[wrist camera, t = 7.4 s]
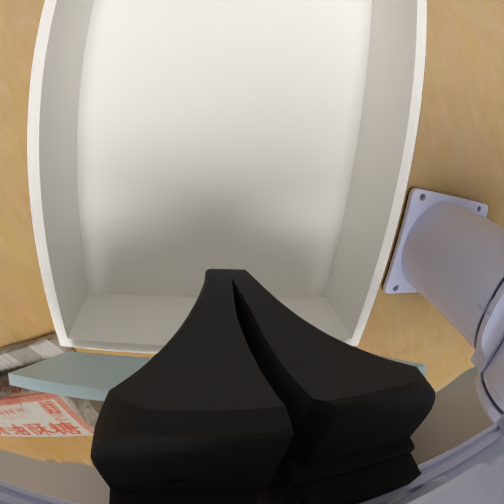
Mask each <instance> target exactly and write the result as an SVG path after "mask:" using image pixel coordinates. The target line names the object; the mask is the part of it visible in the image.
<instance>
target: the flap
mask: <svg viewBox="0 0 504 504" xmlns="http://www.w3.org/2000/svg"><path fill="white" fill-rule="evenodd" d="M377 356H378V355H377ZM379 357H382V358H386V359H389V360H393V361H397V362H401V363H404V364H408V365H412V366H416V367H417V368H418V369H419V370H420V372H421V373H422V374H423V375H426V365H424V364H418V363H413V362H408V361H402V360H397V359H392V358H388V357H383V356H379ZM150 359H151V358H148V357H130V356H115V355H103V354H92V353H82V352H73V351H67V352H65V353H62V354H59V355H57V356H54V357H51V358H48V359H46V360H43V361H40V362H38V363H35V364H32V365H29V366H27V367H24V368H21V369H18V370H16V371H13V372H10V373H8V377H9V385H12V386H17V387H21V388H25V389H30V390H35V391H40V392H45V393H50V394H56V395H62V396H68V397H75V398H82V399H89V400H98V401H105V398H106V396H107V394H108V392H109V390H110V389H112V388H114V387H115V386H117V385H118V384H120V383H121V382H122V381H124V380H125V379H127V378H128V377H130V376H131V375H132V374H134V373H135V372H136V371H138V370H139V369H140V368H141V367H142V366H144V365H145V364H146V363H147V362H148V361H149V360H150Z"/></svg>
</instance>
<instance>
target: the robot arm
mask: <svg viewBox="0 0 504 504" xmlns="http://www.w3.org/2000/svg"><path fill="white" fill-rule="evenodd" d="M421 194H422V197H421V198H420V196H421ZM487 213H488V205H486V204H484V203H480V202H476V201H472V200H468V199H464V198H460V197H456V196H452V195H447V194H443V193H438V192H434V191H429V190H424V189H420V188H413V189H412V190H411V191H410V193H409V197H408V201H407V206H406V210H405V214H404V218H403V221H402V225H401V229H400V233H399V236H398V240H397V243H396V247H395V250H394V254H393V257H392V260H391V264H390V267H389V270H388V273H387V276H386V279H385V282H384V285H383V290H384V291H385V292H386V293H387V294H395V293H413V292H419V293H420V294H421V295H422V296H423V297H424V298H425V299H426V300H427V301H428V302H429V303H430V304H431V305H432V306H433V307H435V308H436V309H437V310H438V311H439V312H440V313H441V314H442V315H443V316H444V317H445V318H446V319H447V320H448V321H449V322H450V324H451V325H452V326H453V327H454V328H455V329H456V330H457V331H458V332H459V333H460V334H461V335H462V336H463V337H464V338H465V339H466V340H467V341H468V342H469V343H470V344H471V345H472V346H473V348H474V349H475V352H474V354H473V356H472V358H471V361H472V363H473V364H474V365H475V366H476V367H477V368H478V369H479V372H478V374H477V377H476V389H477V394H478V397H479V399H480V402H481V404H482V407H483V409H484V410H485V412H486V414H487V415H488V416H489V417H490V418H491V420H492V421H493V422H494V423H495V424H494V425H492V426H490V427H489V428H487V429H486V430H484V431H483V432H481V433H479V434H478V435H476V436H474V437H473V438H471V439H469V440H467V441H466V442H464V443H462V444H460V445H458V446H457V447H455V448H453V449H451V450H449V451H447V452H445V453H443V454H441V455H440V456H437V457H435V458H433V459H431V460H429V461H427V462H425V463H422V464H420V465H418V466H417V464H416V462H415V461H414V459H413V457H412V455H411V453H410V452H411V451H413V450H414V444H413V442H412V440H411V439H410V436H411V435H412V434H413V433H414V431H415V430H416V429H417V428H418V426H419V425H420V424H421V423H422V422H423V420H424V419H425V418H426V416H427V415H428V413H429V412H430V410H431V409H432V406H433V404H434V401H435V391H434V390H433V388H432V387H431V385H430V384H429V383H428V381H427V380H426V378H425V377H424V376H423V374H422V373H421V372H420V370H419V369H418V368H417V367H416V366H412V365H408V364H404V363H401V362H397V361H393V360H389V359H386V358H382V357H379V356H377V355H374V354H371V353H368V352H366V351H363V350H360V349H358V348H356V347H353V346H351V345H349V344H347V343H345V342H342V341H340V340H338V339H336V338H334V337H332V336H330V335H328V334H327V333H325V332H323V331H321V330H320V329H318V328H316V327H315V326H313V325H312V324H310V323H308V322H307V321H305V320H304V319H302V318H301V317H299V316H298V315H297V314H295V313H294V312H293V311H291V310H290V309H289V308H287V307H286V306H285V305H284V304H282V303H281V302H280V301H279V300H278V299H276V298H275V297H274V296H273V295H272V294H271V293H270V292H269V291H267V290H266V289H265V288H264V287H263V286H262V285H261V284H260V283H259V282H258V281H257V280H256V279H255V278H254V277H253V276H252V275H251V274H250V273H249V272H248V271H246V270H242V269H208V270H207V271H205V281H204V284H203V287H202V289H201V292H200V294H199V296H198V298H197V301H196V302H195V304H194V306H193V308H192V309H191V311H190V313H189V315H188V316H187V318H186V319H185V321H184V322H183V324H182V325H181V327H180V328H179V329H178V331H177V332H176V333H175V334H174V336H173V337H172V338H171V339H170V340H169V341H168V342H167V344H166V345H165V346H164V347H163V348H162V349H161V350H160V351H159V352H158V353H157V354H156V355H155V356H154V357H153V358H151V359H150V360H149V361H148V362H147V363H146V364H145V365H144V366H142V367H141V368H140V369H139V370H138V371H136V372H135V373H134V374H132V375H131V376H130V377H128V378H127V379H125V380H124V381H122V382H121V383H120V384H118V385H117V386H115V387H114V388H112V389H110V390H109V392H108V394H107V396H106V398H105V401H104V403H103V405H102V408H101V410H100V413H99V416H98V419H97V422H96V425H95V429H94V435H93V441H92V449H91V459H92V462H93V464H94V466H95V467H96V469H97V470H98V472H99V473H100V475H101V476H102V478H103V479H104V480H105V481H106V483H107V484H108V485H109V487H110V501H109V504H390V503H393V502H394V503H393V504H504V227H503V226H501V225H499V224H497V223H496V222H494V221H492V220H490V219H488V218H486V217H487ZM394 286H395V287H394ZM397 500H398V501H397ZM395 501H396V502H395ZM0 504H81V503H75V502H71V501H67V500H63V499H59V498H55V497H51V496H47V495H44V494H41V493H37V492H34V491H31V490H28V489H25V488H21V487H19V486H16V485H13V484H10V483H8V482H5V481H2V480H0Z"/></svg>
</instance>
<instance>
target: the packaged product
mask: <svg viewBox="0 0 504 504" xmlns="http://www.w3.org/2000/svg"><path fill="white" fill-rule="evenodd" d="M67 351H73V352H75V350H74V349H73V348H72V347H66V346H60V343H59V340H58V336H57V333H53V334H49V335H46V336H43V337H40V338H37V339H34V340H29V341H24V342H20V343H15V344H11V345H8V346H4V347H0V435H2V436H13V437H14V436H19V437H64V436H80V435H83V436H85V435H90V436H91V435H94V429H95V425H96V422H97V419H98V416H99V413H100V410H101V408H102V405H103V403H104V401H98V400H89V399H82V398H75V397H68V396H62V395H56V394H50V393H45V392H40V391H35V390H30V389H25V388H21V387H17V386H12V385H9V377H8V373H10V372H13V371H16V370H18V369H21V368H24V367H27V366H29V365H32V364H35V363H38V362H40V361H43V360H46V359H48V358H51V357H54V356H57V355H59V354H62V353H65V352H67Z"/></svg>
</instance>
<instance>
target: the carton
mask: <svg viewBox="0 0 504 504" xmlns="http://www.w3.org/2000/svg"><path fill="white" fill-rule="evenodd" d="M425 50H426V0H45V3H44V7H43V11H42V15H41V20H40V24H39V29H38V34H37V39H36V45H35V51H34V57H33V64H32V72H31V81H30V92H29V105H28V130H27V154H28V179H29V193H30V204H31V214H32V222H33V229H34V236H35V243H36V249H37V255H38V260H39V265H40V270H41V275H42V280H43V284H44V289H45V293H46V297H47V301H48V305H49V309H50V312H51V316H52V320H53V323H54V327H55V330H56V333H57V336H58V340H59V343H60V346H66V347H75V348H85V349H95V350H107V351H120V352H136V353H158V352H159V351H160V350H161V349H162V348H163V347H164V346H165V345H166V344H167V342H168V341H169V340H170V339H171V338H172V337H173V336H174V334H175V333H176V332H177V331H178V329H179V328H180V327H181V325H182V324H183V322H184V321H185V319H186V318H187V316H188V315H189V313H190V311H191V309H192V308H193V306H194V304H195V302H196V301H197V298H198V296H199V294H200V292H201V289H202V287H203V284H204V281H205V271H207V270H208V269H242V270H246V271H248V272H249V273H250V274H251V275H252V276H253V277H254V278H255V279H256V280H257V281H258V282H259V283H260V284H261V285H262V286H263V287H264V288H265V289H266V290H267V291H269V292H270V293H271V294H272V295H273V296H274V297H275V298H276V299H278V300H279V301H280V302H281V303H282V304H284V305H285V306H286V307H287V308H289V309H290V310H291V311H293V312H294V313H295V314H297V315H298V316H299V317H301V318H302V319H304V320H305V321H307V322H308V323H310V324H312V325H313V326H315V327H316V328H318V329H320V330H321V331H323V332H325V333H327V334H328V335H330V336H332V337H334V338H336V339H338V340H340V341H342V342H345V343H347V344H349V345H351V346H357V345H358V343H359V341H360V338H361V336H362V333H363V331H364V328H365V325H366V323H367V320H368V317H369V315H370V312H371V309H372V306H373V303H374V300H375V298H376V295H377V292H378V289H379V286H380V283H381V279H382V276H383V273H384V270H385V267H386V264H387V260H388V257H389V253H390V250H391V247H392V243H393V239H394V236H395V232H396V228H397V225H398V221H399V217H400V213H401V209H402V205H403V200H404V196H405V192H406V187H407V183H408V178H409V173H410V168H411V163H412V157H413V152H414V146H415V140H416V134H417V128H418V121H419V114H420V106H421V98H422V89H423V78H424V66H425Z"/></svg>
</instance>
